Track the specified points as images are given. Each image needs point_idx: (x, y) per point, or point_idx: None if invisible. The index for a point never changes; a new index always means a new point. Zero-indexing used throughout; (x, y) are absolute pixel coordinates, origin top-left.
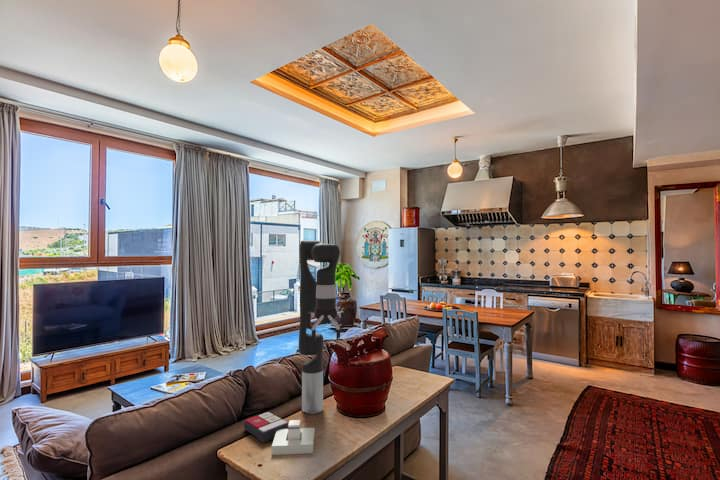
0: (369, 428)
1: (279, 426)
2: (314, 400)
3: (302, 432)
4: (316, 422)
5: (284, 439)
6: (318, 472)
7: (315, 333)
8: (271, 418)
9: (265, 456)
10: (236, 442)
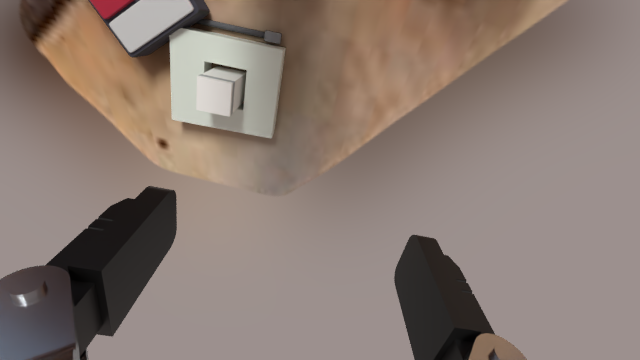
0: (447, 50)
1: (173, 28)
2: None
3: (247, 70)
4: None
5: None
6: (279, 195)
7: (136, 295)
8: None
9: (167, 114)
10: (68, 20)
